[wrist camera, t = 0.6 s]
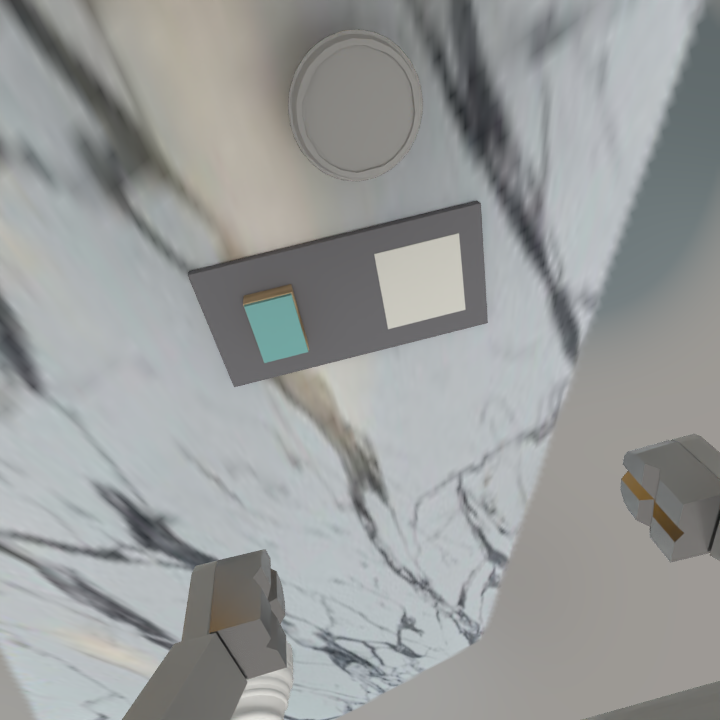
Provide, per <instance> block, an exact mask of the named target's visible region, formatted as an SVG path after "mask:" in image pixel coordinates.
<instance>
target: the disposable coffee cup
mask: <svg viewBox="0 0 720 720" xmlns="http://www.w3.org/2000/svg"><path fill="white" fill-rule="evenodd" d="M422 109H423V99H422V91H421V85H420V82H419V79H418V75H417V73H416V71H415V69H414V67H413V65H412V63H411V61H410V60H409V58H408V57H407V56H406V55H405V53H404V52H403V51H402V50H401V48H400V47H399V46H397V45H396V44H395V43H393V42H392V41H391V40H389V39H388V38H386V37H384V36H382V35H380V34H378V33H376V32H371V31H365V30H360V29H358V30H344V31H341V32H338V33H336V34H333V35H330V36H328V37H326V38H325V39H323V40H322V41H320V42H319V43H317V44H316V45H315V46H314V47H312V48H311V49H310V50H309V52H308V53H307V54H306V55H305V57H304V58H303V60H302V61H301V63H300V64H299V66H298V68H297V70H296V72H295V74H294V77H293V80H292V83H291V87H290V91H289V100H288V112H289V120H290V126H291V129H292V132H293V135H294V138H295V140H296V142H297V144H298V146H299V148H300V150H301V151H302V153H303V154H304V155H305V156H306V157H307V159H308V160H309V161H310V162H311V163H312V164H313V165H314V166H315V167H317V168H318V169H319V170H320V171H322V172H324V173H326V174H328V175H330V176H331V177H334V178H338V179H341V180H346V181H364V180H368V179H372V178H376V177H378V176H380V175H382V174H384V173H386V172H388V171H389V170H391V169H392V168H393V167H395V166H396V165H397V164H398V163H399V162H400V161H401V160H402V159H403V158H404V157H405V155H406V154H407V153H408V151H409V150H410V148H411V146H412V145H413V143H414V141H415V139H416V136H417V133H418V131H419V128H420V123H421V117H422Z"/></svg>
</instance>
